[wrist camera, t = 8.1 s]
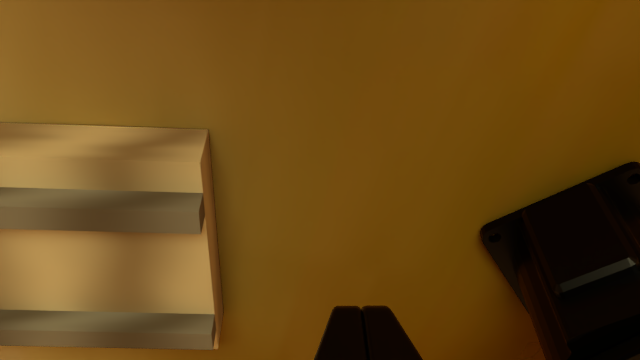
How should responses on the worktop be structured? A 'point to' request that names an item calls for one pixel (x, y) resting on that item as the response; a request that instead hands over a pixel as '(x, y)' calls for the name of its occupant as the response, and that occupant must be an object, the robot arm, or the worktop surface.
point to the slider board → (108, 238)
